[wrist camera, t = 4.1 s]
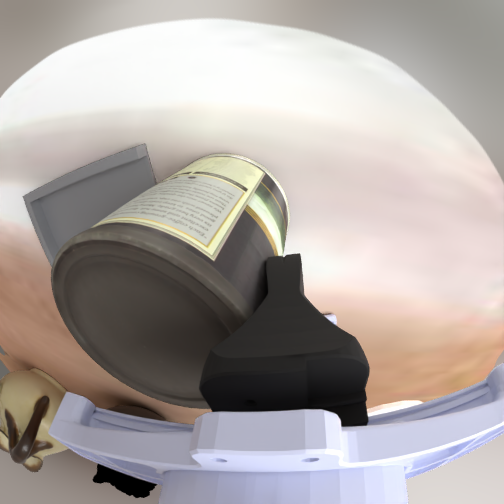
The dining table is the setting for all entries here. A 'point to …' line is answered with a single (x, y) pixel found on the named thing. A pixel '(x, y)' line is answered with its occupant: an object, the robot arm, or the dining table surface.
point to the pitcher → (29, 416)
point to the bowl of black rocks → (120, 479)
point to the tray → (87, 196)
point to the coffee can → (173, 274)
